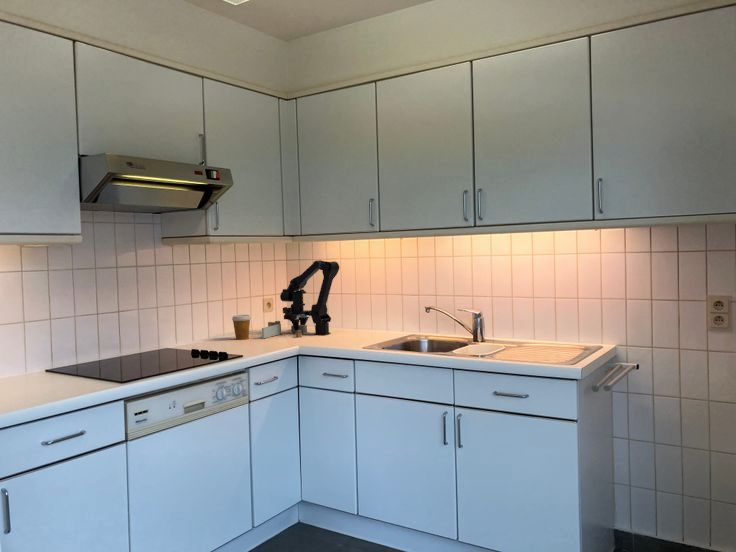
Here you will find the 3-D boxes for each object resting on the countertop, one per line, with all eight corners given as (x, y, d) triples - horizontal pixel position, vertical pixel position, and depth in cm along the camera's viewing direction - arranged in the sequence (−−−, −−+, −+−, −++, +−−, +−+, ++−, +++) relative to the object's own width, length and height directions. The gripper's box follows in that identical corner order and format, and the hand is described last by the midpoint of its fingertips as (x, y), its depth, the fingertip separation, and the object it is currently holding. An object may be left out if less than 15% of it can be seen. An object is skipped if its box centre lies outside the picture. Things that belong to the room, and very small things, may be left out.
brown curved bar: (267, 333, 344) (267, 320, 344) (271, 332, 346) (270, 319, 345) (298, 337, 324) (297, 323, 324) (301, 336, 326) (301, 323, 325)
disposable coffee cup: (253, 337, 331) (252, 314, 330) (248, 340, 321) (247, 316, 321) (236, 337, 332) (235, 314, 331) (230, 340, 322) (229, 317, 322)
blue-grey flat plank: (279, 333, 338) (279, 323, 338) (281, 333, 338) (281, 323, 337) (262, 338, 324) (261, 327, 324) (264, 338, 324) (263, 327, 323)
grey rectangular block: (307, 332, 342) (306, 325, 341) (302, 333, 338) (302, 326, 337) (296, 332, 345) (295, 324, 345) (291, 333, 341) (291, 325, 341)
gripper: (296, 300, 352) (298, 327, 353) (275, 303, 337) (276, 332, 337) (313, 300, 347) (314, 328, 348) (291, 303, 331) (292, 333, 332)
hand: (299, 330), depth 341 cm, fingers closed on grey rectangular block, 4 cm apart
